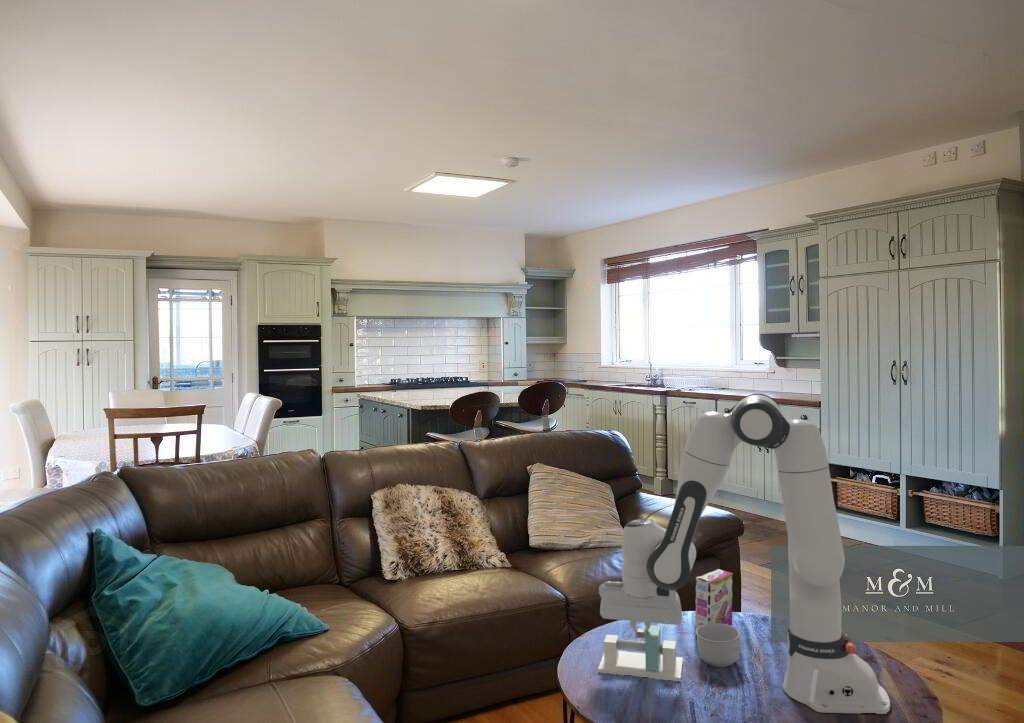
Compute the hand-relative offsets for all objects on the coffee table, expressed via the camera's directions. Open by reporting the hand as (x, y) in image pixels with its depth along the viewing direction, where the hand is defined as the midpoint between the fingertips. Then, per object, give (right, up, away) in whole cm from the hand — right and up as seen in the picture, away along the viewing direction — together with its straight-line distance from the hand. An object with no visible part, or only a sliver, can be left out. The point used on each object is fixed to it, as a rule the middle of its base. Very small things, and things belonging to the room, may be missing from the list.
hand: (641, 637), depth 182 cm
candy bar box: (+24, -6, +19) cm, 32 cm away
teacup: (+20, -7, +4) cm, 22 cm away
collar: (+3, -6, -1) cm, 7 cm away
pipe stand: (0, -8, 0) cm, 8 cm away
